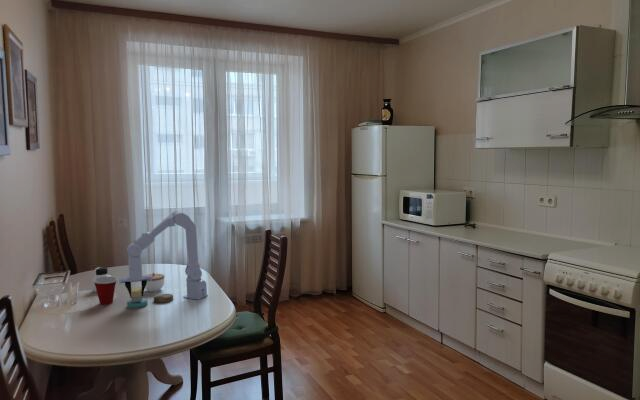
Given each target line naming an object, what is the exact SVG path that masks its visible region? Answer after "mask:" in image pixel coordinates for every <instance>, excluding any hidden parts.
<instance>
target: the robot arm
mask: <svg viewBox="0 0 640 400" xmlns="http://www.w3.org/2000/svg"><path fill="white" fill-rule="evenodd" d="M176 225H177V226H179V227H182V228H183V229H184V230H185V242H186V244H185V245H186V255H187V256H186V257H187V258H186V267H185V269H184V271H185V275H186V281H185V282H186V283H185V284H186V295H184V296H183V298H185V299H191V300H197V301H198V300H200V299H202V298H205V297H207V296H208V292H207V290H208V289H207V282H206V281H205V280H203V279H202V275H203V272H202V270H201V268H200V263H199V260H198V259H199V257H198V243H197V241H198V240H197V227H196V226H197V225H196V224H195V223H194V222H193V220H192V219H191V217H190V216H189V215H187V214H186V213H184V212H182V211H179V210H176V211H173V212H172V213H171V214H169V215H167V216H166V217H165V218H164V219H163V220H162V221H161V222H160V223H159V224H157V225H156V226H155V227H154V228H153V229H152V230H151V231H146V232H142V233H141V236H139V238H137V239H136V240H135V239H134V240H133V241H132V242H133V243H130V244H128V245H127V248H126V252H127V253H128V256H127V257H128V275H129V276H128V277H123V278H122V277H121V278H119V279H118V280H119V281H118V282H119V285H121V284H124V286H125V288H126V289H127V291H128V294H129V298H131V289H132V283H138V282H140V284H141V286H140V287H142V297H144V292H145V289H146V288H145V286H146V284H147V281H149V280H150V281H152V276H145V275H143V265H142V263H143V262H142V253H143V251H144V250H145V249H147V247H149V246H150V245H152V243H154V242H155V239H156V237H157V236H158V235H159V234H161V233H162V232H164V231H165V230H166V229H167V228H171V227H175V226H176Z"/></svg>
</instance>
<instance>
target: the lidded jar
mask: <svg viewBox="0 0 640 400" xmlns="http://www.w3.org/2000/svg"><path fill="white" fill-rule="evenodd" d="M144 276H152V281H150V280H149V281H147V284H146V286H145V289H146V291H148V293H156V292H159V291H160V292H161V290H162V288H163V287H164V285H165V275H164V274H163V273H155V272H152V273H150V274H145V275H144Z"/></svg>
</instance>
